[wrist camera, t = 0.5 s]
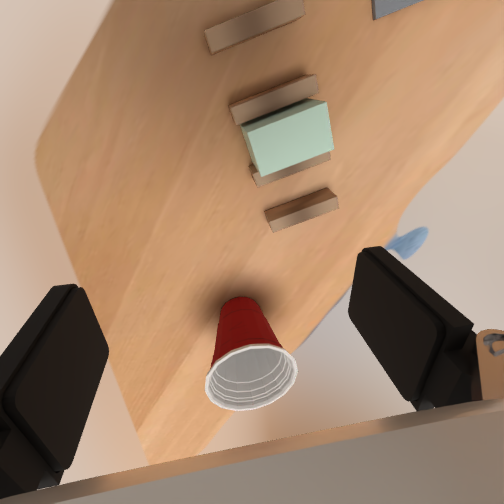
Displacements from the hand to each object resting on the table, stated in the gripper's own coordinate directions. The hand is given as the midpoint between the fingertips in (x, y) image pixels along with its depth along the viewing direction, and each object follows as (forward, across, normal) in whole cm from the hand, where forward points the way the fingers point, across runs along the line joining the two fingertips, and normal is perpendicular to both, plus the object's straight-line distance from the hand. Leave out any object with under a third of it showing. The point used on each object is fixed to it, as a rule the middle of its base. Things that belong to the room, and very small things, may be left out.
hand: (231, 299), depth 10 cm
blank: (+23, -7, -2) cm, 25 cm away
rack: (+23, -7, -2) cm, 24 cm away
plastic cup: (+24, -2, +22) cm, 33 cm away
